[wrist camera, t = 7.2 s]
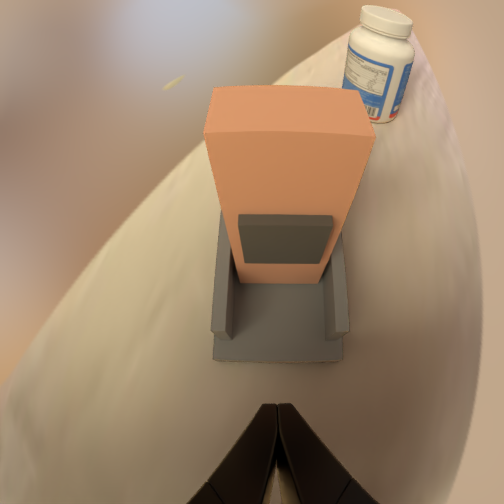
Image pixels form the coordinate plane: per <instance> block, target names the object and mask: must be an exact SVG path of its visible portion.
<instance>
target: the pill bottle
mask: <svg viewBox="0 0 504 504" xmlns="http://www.w3.org/2000/svg"><path fill="white" fill-rule="evenodd" d="M360 22H361V24H362V25H363V26H361V27H357V28H355V29H353V30H352V31H351V33H350V36H349V42H348V50H347V58H346V65H345V72H344V79H343V86H342V89H350V90H358V91H359V93H360V96H361V98H362V101H363V103H364V106H365V108H366V111H367V114H368V116H369V119H370V122H374V123H386V122H389V121H391V120H393V119H394V118H395V117H396V115H397V112H398V110H399V107H400V104H401V100H402V98H403V94H404V91H405V88H406V85H407V81H408V78H409V75H410V71H411V68H412V64H413V60H414V56H415V51H414V48H413V46H412V45H411V44H410V42H409V41H407V40H406V39H407V38H409V37H410V35H411V30H412V25H413V22H412V21H411V19H410V18H408V17H406V16H405V15H403V14H401V13H399V12H396V11H394V10H391V9H388V8H384V7H380V6H374V5H365V6H363V7H362V9H361V15H360Z"/></svg>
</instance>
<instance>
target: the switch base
mask: <svg viewBox="0 0 504 504" xmlns="http://www.w3.org/2000/svg"><path fill="white" fill-rule="evenodd" d="M211 331H212V332H213V333H214V347H213V359H214V360H216V361H230V362H258V363H307V362H336V361H341V360H343V342H342V336H343V335H345V334H346V333H348V332H349V313H348V297H347V284H346V273H345V262H344V252H343V243H342V234H341V231H340V234H339V236H338V239H337V241H336V243H335V246H334V248H333V250H332V253H331V255H330V257H329V260H328V262H327V264H326V267H325V269H324V271H323V273H322V276H321V278H320V280H319V282H318V284H263V283H240V280H239V276H238V272H237V269H236V265H235V261H234V257H233V253H232V249H231V245H230V241H229V237H228V233H227V229H226V225H225V221H224V217H223V213H222V209H221V215H220V226H219V236H218V247H217V258H216V269H215V281H214V293H213V306H212V320H211Z"/></svg>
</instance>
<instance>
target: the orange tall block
mask: <svg viewBox="0 0 504 504" xmlns="http://www.w3.org/2000/svg"><path fill="white" fill-rule="evenodd" d="M203 134H204V138H205V142H206V147H207V151H208V155H209V159H210V164H211V168H212V172H213V176H214V180H215V184H216V189H217V193H218V197H219V201H220V205H221V209H222V213H223V217H224V221H225V225H226V229H227V233H228V237H229V241H230V245H231V249H232V253H233V257H234V261H235V265H236V269H237V272H238V276H239V280H240V283H263V284H318V282H319V280H320V278H321V276H322V273H323V271H324V269H325V267H326V264H327V262H328V260H329V257H330V255H331V253H332V250H333V248H334V246H335V243H336V241H337V239H338V236H339V234H340V231H341V229H342V227H343V224H344V222H345V219H346V217H347V214H348V212H349V209H350V207H351V204H352V201H353V199H354V196H355V194H356V191H357V188H358V186H359V183H360V180H361V178H362V175H363V172H364V169H365V167H366V164H367V161H368V158H369V156H370V153H371V150H372V147H373V144H374V141H375V138H376V136H375V133H374V130H373V127H372V124H371V122H370V119H369V116H368V114H367V111H366V108H365V106H364V103H363V101H362V98H361V96H360V93H359V91H358V90H350V89H340V88H328V87H313V86H287V85H258V86H257V85H253V86H228V87H214V89H213V94H212V97H211V102H210V106H209V110H208V115H207V119H206V123H205V128H204V133H203Z"/></svg>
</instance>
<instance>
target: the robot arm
mask: <svg viewBox="0 0 504 504" xmlns="http://www.w3.org/2000/svg"><path fill="white" fill-rule="evenodd" d="M276 465H277V474H278V480H279V486H280V492H281V498H282V504H379V503H378V502H377V501H376V500H374V499H373V498H372V497H371V496H370V495H369V494H368V493H367V492H366V491H365V490H364V489H363V488H362V487H361V485H360V484H359V483H358V482H357V481H356V480H355V479H354V478H352V476H351V475H350V474H349V472H348V471H347V470H346V469H345V468H344V467H343V466H342V464H341V463H340V462H339V461H338V460H337V459H336V457H335V456H334V455H333V454H332V453H331V451H330V450H329V449H328V448H327V447H326V446H325V444H324V443H323V442H322V441H321V440H320V438H319V437H318V436H317V435H316V433H315V432H314V431H313V430H312V429H311V427H310V426H309V425H308V424H307V422H306V421H305V420H304V419H303V417H302V416H301V415H300V414H299V412H298V411H297V410H296V409H295V407H294V406H293V405H292V404H291V403H280V404H278V405H276V404H262V406H261V407H260V408H259V410H258V411H257V413H256V414H255V416H254V417H253V419H252V420H251V422H250V423H249V424H248V426H247V427H246V429H245V430H244V432H243V433H242V434H241V436H240V437H239V439H238V440H237V441H236V443H235V444H234V445H233V447H232V448H231V450H230V451H229V452H228V454H227V455H226V456H225V458H224V459H223V460H222V462H221V463H220V464H219V465H218V467H217V468H216V469H215V471H214V472H213V473H212V475H211V476H210V477H209V478H208V480H207V481H208V482H207V481H206V482H205V483H204V484H203V485H202V487H201V488H200V489H199V490H198V491H197V493H196V494H195V495H194V496H193V497H192V498H191V499H190V500H189V501H188V502H187V504H269V503H270V498H271V492H272V487H273V481H274V475H275V469H276Z"/></svg>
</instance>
